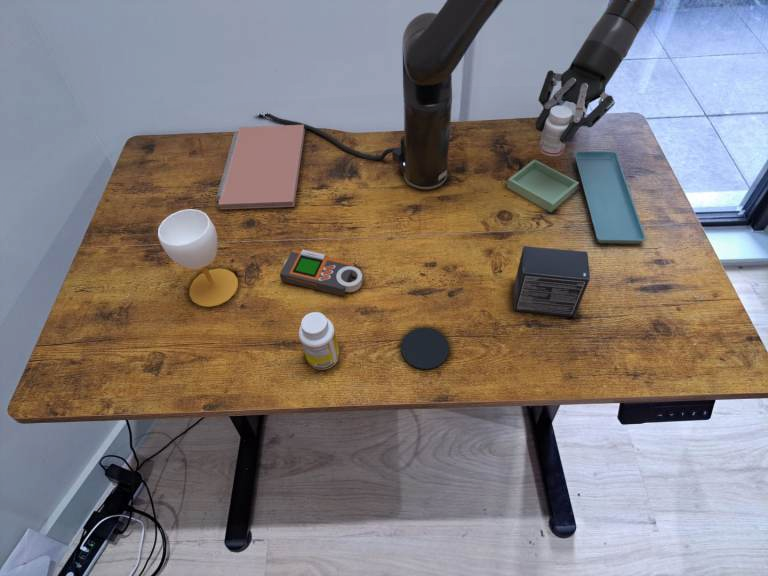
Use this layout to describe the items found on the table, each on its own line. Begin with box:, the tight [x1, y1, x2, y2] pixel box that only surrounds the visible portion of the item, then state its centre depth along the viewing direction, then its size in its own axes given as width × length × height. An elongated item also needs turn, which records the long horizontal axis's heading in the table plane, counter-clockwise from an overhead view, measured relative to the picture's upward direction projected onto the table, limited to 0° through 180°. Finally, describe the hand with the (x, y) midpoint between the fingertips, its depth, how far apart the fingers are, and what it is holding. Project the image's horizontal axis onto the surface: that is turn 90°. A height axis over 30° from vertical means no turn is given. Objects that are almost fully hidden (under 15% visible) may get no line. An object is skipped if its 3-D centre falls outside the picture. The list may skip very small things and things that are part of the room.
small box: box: [512, 245, 591, 318], centre depth 86 cm, size 11×6×10 cm, turn 80°
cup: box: [157, 208, 239, 308], centre depth 89 cm, size 9×9×16 cm
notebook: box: [215, 124, 306, 211], centre depth 115 cm, size 27×17×2 cm, turn 1°
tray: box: [506, 158, 580, 213], centre depth 107 cm, size 11×9×2 cm
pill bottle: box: [538, 105, 573, 157], centre depth 97 cm, size 5×5×8 cm
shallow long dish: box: [573, 150, 647, 245], centre depth 104 cm, size 26×9×2 cm, turn 177°
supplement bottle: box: [298, 311, 340, 371], centre depth 81 cm, size 6×6×10 cm
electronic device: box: [279, 248, 363, 297], centre depth 94 cm, size 7×3×15 cm
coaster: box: [400, 326, 450, 371], centre depth 85 cm, size 8×8×1 cm
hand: (550, 135), depth 96 cm, fingers closed on pill bottle, 4 cm apart
